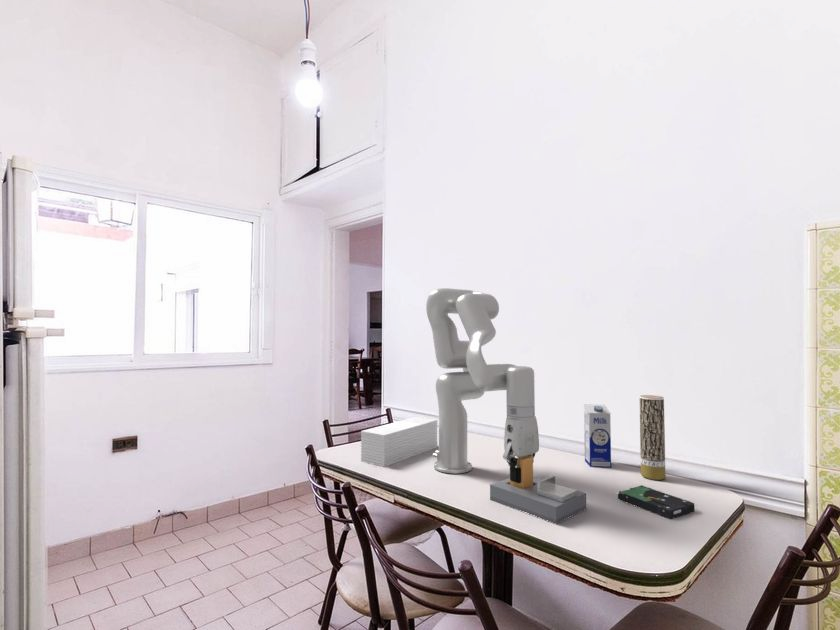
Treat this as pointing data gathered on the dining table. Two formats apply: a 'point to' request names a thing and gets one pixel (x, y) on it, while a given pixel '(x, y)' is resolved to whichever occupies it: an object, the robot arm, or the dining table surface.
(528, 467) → the plug
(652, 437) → the paper tube
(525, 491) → the socket block
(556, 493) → the plate
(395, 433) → the stack of papers
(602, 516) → the dining table surface
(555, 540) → the dining table surface
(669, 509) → the disk drive
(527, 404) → the robot arm
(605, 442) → the milk carton
